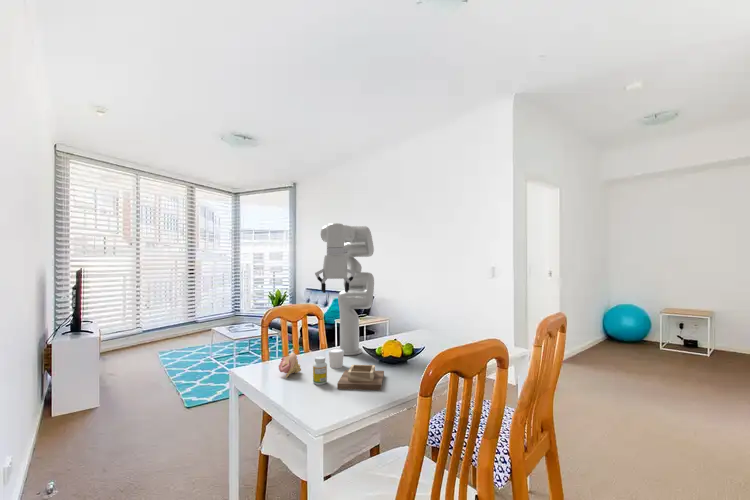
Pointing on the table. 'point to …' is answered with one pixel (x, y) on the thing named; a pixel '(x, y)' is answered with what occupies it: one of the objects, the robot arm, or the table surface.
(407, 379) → the table surface
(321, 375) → the supplement bottle
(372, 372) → the walnut base
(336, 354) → the white lidded jar
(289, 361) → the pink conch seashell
